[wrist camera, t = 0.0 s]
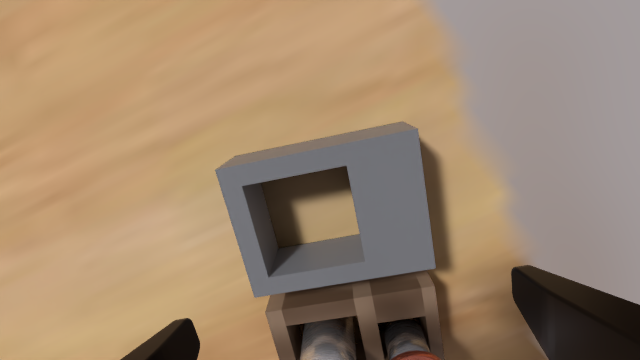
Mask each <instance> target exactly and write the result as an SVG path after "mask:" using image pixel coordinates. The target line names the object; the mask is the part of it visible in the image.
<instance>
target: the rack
mask: <svg viewBox="0 0 640 360" xmlns="http://www.w3.org/2000/svg"><path fill="white" fill-rule="evenodd" d="M342 166H347V171H348V176H349V181H350V186H351V191H352V196H353V201H354V207H355V212H356V217H357V222H358V227H359V232H360V234H358V235H352V236H346V237H341V238H335V239H329V240H323V241H318V242H312V243H306V244H301V245H295V246H289V247H283V248H278V245H277V241H276V237H275V234H274V230H273V226H272V223H271V219H270V215H269V212H268V208H267V204H266V201H265V197H264V193H263V190H262V186H261V182H266V181H271V180H276V179H281V178H286V177H291V176H296V175H301V174H306V173H312V172H317V171H322V170H327V169H332V168H337V167H342ZM215 171H216V174H217V177H218V181H219V184H220V187H221V190H222V194H223V197H224V200H225V203H226V206H227V210H228V213H229V216H230V219H231V223H232V226H233V229H234V232H235V236H236V239H237V242H238V245H239V249H240V252H241V255H242V258H243V261H244V265H245V268H246V271H247V274H248V278H249V281H250V284H251V287H252V291H253V294H254V297H261V296H268V295H274V294H280V293H286V292H292V291H299V290H305V289H311V288H317V287H323V286H330V285H336V284H342V283H348V282H354V281H361V280H367V279H373V278H379V277H385V276H392V275H398V274H404V273H410V272H417V271H423V270H429V269H435V268H436V265H435V257H434V250H433V242H432V234H431V227H430V219H429V211H428V203H427V196H426V188H425V180H424V173H423V165H422V157H421V150H420V142H419V134H418V128H415V127H413V126H411V125H409V124H407V123H405V122H398V123H393V124H388V125H383V126H379V127H374V128H369V129H364V130H359V131H354V132H350V133H345V134H340V135H335V136H330V137H325V138H320V139H316V140H311V141H306V142H301V143H296V144H291V145H287V146H282V147H277V148H272V149H267V150H262V151H257V152H253V153H248V154H243V155H238V156H234V157H233V158H232V159H230V160H229V161H227V162H226V163H224V164H223V165H221V166H220V167H219V168H217V169H216V170H215Z"/></svg>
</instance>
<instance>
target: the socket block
mask: <svg viewBox="0 0 640 360" xmlns="http://www.w3.org/2000/svg"><path fill="white" fill-rule="evenodd" d="M265 313H266V317H267V320H268V323H269V326H270V330H271V333H272V336H273V340H274V343H275V346H276V350H277V353H278V356H279V359H280V360H300V356H301V348H302V337H301V333H300V330H299V326H298V324H303V323H310V322H316V321H323V320H330V319H336V318H343V317H350V316H356V315H357V317H358V322H359V327H360V332H361V336H362V341H363V343H358V344H355V347H356V359H357V360H389V358H388V353H387V348H386V343H385V338H384V332H385V331H379V328H378V323H382V322H389V321H395V320H402V319H409V318H416V317H419V320H420V327H421V329H422V331H423V334H424V337H425V339H426V342H427V345H428V347H429V350H430V353H432V354H434V355H436V356H437V357H439V358H440V359H441V360H445V359H444V352H443V344H442V337H441V329H440V322H439V314H438V307H437V299H436V292H435V286H434V284H433V282H432V280H431V278H430V276H429V274H428V272H427V270H423V271H417V272H410V273H404V274H398V275H392V276H385V277H379V278H373V279H367V280H361V281H354V282H348V283H342V284H336V285H330V286H323V287H317V288H311V289H305V290H299V291H292V292H286V293H280V294H274V295H270V298H269V302H268V305H267V308H266V312H265Z"/></svg>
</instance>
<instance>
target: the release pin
mask: <svg viewBox="0 0 640 360" xmlns="http://www.w3.org/2000/svg"><path fill="white" fill-rule="evenodd" d="M384 338H385V343H386V348H387V353H388V358H389V360H441V359H440V358H439V357H437V356H436V355H434V354H432V353H430V350H429V347H428V345H427V342H426V339H425V337H424V334H423V331H422V329H421V327H420V326H419V324H417V323H416V322H414V321H412V320H409V319H402V320H396V321H394V322H392V323H390V324H389V325H388V326H387V328H386V330H385V332H384Z"/></svg>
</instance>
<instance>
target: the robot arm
mask: <svg viewBox="0 0 640 360" xmlns="http://www.w3.org/2000/svg"><path fill="white" fill-rule="evenodd" d="M511 276H512V294H513V298H514V301H515V303H516V305H517V307H518V309H519V310H520V312H521V314H522V315H523V317H524V319H525V320H526V322H527V324H528V325H529V327H530V329H531V330H532V332H533V334H534V336H535V337H536V339H537V341H538V342H539V344H540V346H541V347H542V349H543V351H544V352H545V354H546V355H547V357H548V359H549V360H640V305H638V304H635V303H633V302H630V301H627V300H624V299H622V298H619V297H616V296H613V295H611V294H608V293H605V292H602V291H600V290H597V289H594V288H591V287H589V286H586V285H583V284H580V283H577V282H575V281H572V280H569V279H566V278H564V277H561V276H558V275H555V274H552V273H550V272H547V271H544V270H541V269H539V268H536V267H533V266H530V265H525V266H519V267H514V268H513V269H512V272H511ZM199 350H200V341H199V338H198V335H197V333H196V330H195V327H194V325H193V322H192V321H191V319H189V318H185V319H179V320H175V321H173V322H172V323H170V324H169V325H168V326H166V327H165V328H164V329H162V330H161V331H159V332H158V333H157V334H155V335H154V336H153V337H151V338H150V339H148V340H147V341H146V342H144V343H143V344H141V345H140V346H139V347H137V348H136V349H135V350H133V351H132V352H130V353H129V354H128V355H126V356H125V357H123V358H122V359H121V360H197V357H198V354H199Z"/></svg>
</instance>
